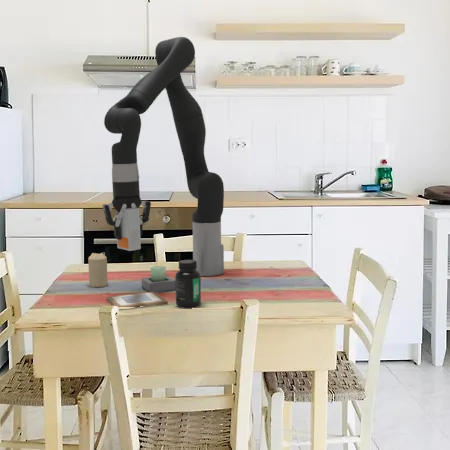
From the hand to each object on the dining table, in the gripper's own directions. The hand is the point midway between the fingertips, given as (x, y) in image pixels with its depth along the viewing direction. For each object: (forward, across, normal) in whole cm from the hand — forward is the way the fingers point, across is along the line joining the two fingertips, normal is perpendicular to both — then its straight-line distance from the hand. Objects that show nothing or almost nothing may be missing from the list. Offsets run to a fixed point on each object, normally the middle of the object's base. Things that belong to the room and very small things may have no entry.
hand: (128, 237), depth 193 cm
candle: (+16, +6, -13) cm, 22 cm away
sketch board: (+16, +2, +11) cm, 20 cm away
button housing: (+16, -8, 0) cm, 18 cm away
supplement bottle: (+17, -10, +20) cm, 28 cm away
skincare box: (+3, 0, 0) cm, 3 cm away
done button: (+14, -8, 0) cm, 17 cm away
